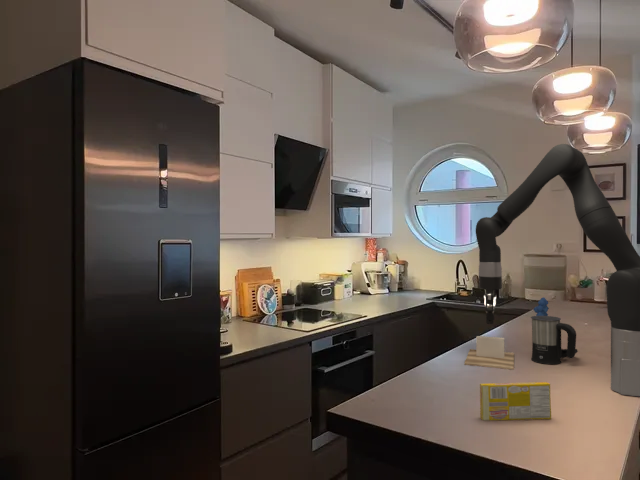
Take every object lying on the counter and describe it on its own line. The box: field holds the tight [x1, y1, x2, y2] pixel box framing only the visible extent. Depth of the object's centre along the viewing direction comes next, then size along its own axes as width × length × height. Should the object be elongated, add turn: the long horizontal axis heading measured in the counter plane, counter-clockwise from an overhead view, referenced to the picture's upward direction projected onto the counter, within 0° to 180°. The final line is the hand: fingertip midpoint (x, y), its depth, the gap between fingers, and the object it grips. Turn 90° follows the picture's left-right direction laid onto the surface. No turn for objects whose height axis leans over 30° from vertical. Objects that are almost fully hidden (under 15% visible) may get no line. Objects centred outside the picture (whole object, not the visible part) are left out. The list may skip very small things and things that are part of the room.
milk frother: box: [530, 315, 579, 365], centre depth 160 cm, size 14×16×15 cm
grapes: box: [533, 296, 550, 316], centre depth 228 cm, size 12×7×12 cm, turn 138°
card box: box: [475, 335, 505, 358], centre depth 162 cm, size 3×9×6 cm, turn 68°
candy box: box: [479, 381, 552, 421], centre depth 109 cm, size 16×2×8 cm, turn 92°
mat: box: [464, 348, 515, 370], centre depth 161 cm, size 20×15×1 cm
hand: (490, 321), depth 162 cm, fingers open, 8 cm apart
